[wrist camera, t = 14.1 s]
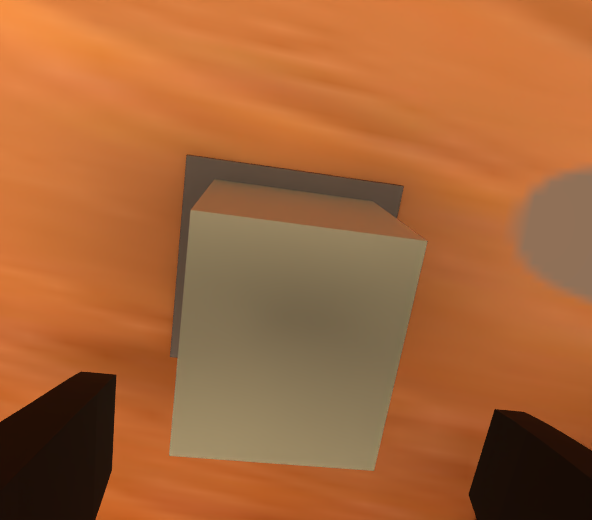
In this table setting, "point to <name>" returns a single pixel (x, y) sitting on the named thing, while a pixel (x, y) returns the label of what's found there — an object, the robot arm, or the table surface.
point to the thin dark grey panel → (208, 169)
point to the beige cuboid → (291, 326)
